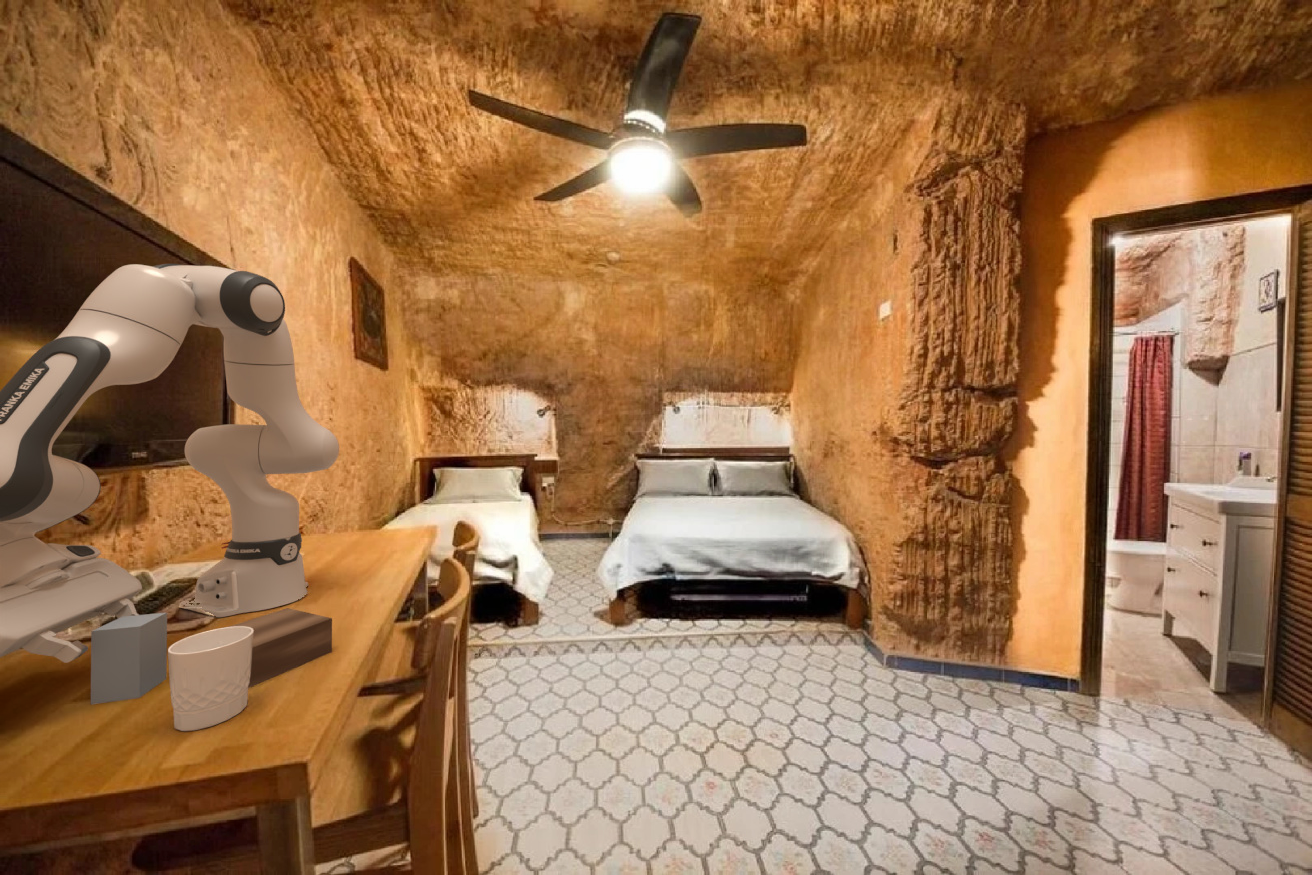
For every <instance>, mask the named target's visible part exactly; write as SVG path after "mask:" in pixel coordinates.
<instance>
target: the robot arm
mask: <svg viewBox="0 0 1312 875" xmlns="http://www.w3.org/2000/svg"><path fill="white" fill-rule="evenodd" d="M285 313H286V303H285V299H284V295H283V294H282V292H281V290H280V289H279V287H278V286H277V285H276V284H275V283H274V281H272V280H271V279H269V278H268V277H265V276H263V275H261V274H258V273H254V272H251V271H247V270H246V271H245V270H235V269H231V268H226V267H221V266H216V265H214V266H213V265H191V264H190V265H187V264H185V265H184V264H179V263H163V264H156V265H153V266H151V265H144V264H136V263H135V264H134V263H133V264H126V265H122V266H121V267H118V268H116V269H115V270H114V271H113V272H112V273H110V274H109V275H108V276H107V277H106V278H105V279H104V280H103V281H102V282H101V283H100V284H99V285H97V287H95V289H94V290H93V291H92V292H90V295H89V296H88V297H87V298H86V300H84V302H83V304H82V305H81V306H80V308H79V309H78V311H77V312H76V314H75V315H74V317H73V318H72V320H70V322H69V323H68V325H67V326H66V327H65V329H64V330H63V331H62V332H61V333H60V334H59V335H58V336H57V337H56V338H55V339H53V340H51V341H49V342H48V343H46V344H44V345H43V346H42V347H41V348H40V349H38V350H37V351H36V352H34V354H33V355H32V356H31V357H29V359H28V360H26V362H25V363H24V364H23V365H22V366H21V367H20V368H19V370H18V371H16V372H15V374H14V375H13V376H12V377H11V378H10V380H9V381H8V382H7V383H6V384H5V385H4V386H3V388H2V389H0V658H2V657H4V656H6V655H10V654H11V653H13V652H16V651H18V650H20V649H23V650H24V651H26V652H27V653H30V654H35V655H40V656H41V655H42V656H48V657H55V658H56V659H58V660H59V661H61V662H62V663H66V664H67V663H70V662H72V661H75V660H76V659H78V658H80V657H81V656H82V655H83V654H85V653H86V652H88V650H89V647H88V645H86V644H83V642H81V641H79V640H78V639H77V640H75V641H69V640H65V639H62V638H59V637H56V636H57V634H58V633H60V632H63V631H65V630H67V629H70V628H72V627H74V626H77V625H79V624H81V623H83V622H86V621H89V620H91V619H93V618H96V617H97V616H101V615H103V614H105V613H106V614H107V615H108V616H110V617H114V616H116V618H117V619H119V618H121V617H123V616H134V615H140V614H139V613H138V612H137V610H136V607H135V605H134V603H133V601H131V600H132V599H133V598H134V597H136V595H138V594H140V592H141V591H142V590H143V586H142V582H141V581H140V580H139V579H138V578H137V577H136V576H134V575H133V574H131V573H130V572H129V571H127V570H126V568H123V567H122V566H120V565H119V564H117V563H116V562H114V561H112V560H110V559H107V558H104V557H99V556H100V555H101V554H102V551H101V550H100V549H98V548H97V547H95V546H93V545H90V544H61V543H60V544H59V543H54V542H53V543H51V542H50V543H45V542H44V541H42V540H41V539H39V537H37V536H35V534H37V533H40V532H43V531H44V530H45V531H46V530H49V528H53V527H54V526H57V525H59V524H60V523H63V522H65V521H67V520H69V519H71V518H73V517H75V516H76V517H77V515H80V514H81V513H83V512H85V511H86V510H88V509H89V508H90V507H91V506H92V505H94V503H95V502H96V501H97V499H98V498H99V495H100V493H101V480H100V477H99V476H98V473H96V472H95V471H94V469H92V468H91V467H89V466H88V465H86V464H83V463H81V462H78V461H75V460H72V459H68V458H65V457H61V456H59V455H55V454H53V453H52V451H53V450H52V449H53V445H54V443H55V441H56V440H57V438H58V437H59V436H60V435H61V433H62V432H63V430H64V429H65V428H66V427H67V425H68V424H69V422H70V421H71V420H72V419H73V417H74V416H75V415H76V413H77V412H78V411H79V410H80V408H81V407H82V405H83V403H85V402H86V400H88V398H89V397H90V396H92V394H94V393H95V392H97V391H99V390H101V389H103V388H107V387H110V386H116V385H117V386H120V385H121V386H123V385H125V386H127V385H136V384H142V383H146V382H148V381H152V380H154V379H156V378H158V377H159V376H160V375H161V374H162V373H163V372H164V371H165V370H166V369H167V368H168V367H169V365H170V364H171V363H172V361H173V360H174V359H175V356H177V353H178V351H179V349H180V347H181V346H182V344H183V342H184V340H185V337H186V336H187V333H188V331H189V328H190V327H191V326H192V325H196V326H202V327H208V328H214V329H218V330H219V331H220V333H221V335H222V336H223V360H224V370H225V371H224V372H225V381H226V382H225V383H226V391H227V392H226V393H227V394H228V396H229V398H230V399H231V400H232V401H233V402H234V403H235V404H236V405H238V406H239V407H242V408H244V409H247V410H249V411H253V413H256V414H258V416H260V417H261V418H262V419H263V421H264V422H265V423H266V424H232V423H231V424H230V423H229V424H221V425H220V424H219V425H212V426H206V427H200V428H198V429H196V430H195V431H194V432H193V433H192V434H190V436H189V437H188V438H187V440H186V442H185V445H184V456H185V459H186V461H187V462H188V464H189V465H190V467H192V469H194V470H195V471H197V472H198V473H201V474H202V475H205V476H206V477H208V478H209V479H210V480H212V481H213V482H214V483H215V484H216V485H217V486H218V487H219V488H220V489H221V490H222V492H223V493H224V495H225V497H226V498H227V501H228V504H229V507H230V515H231V540H230V541H227V542H222V543H221V545H223V546H222V547H221V549H226V550H225V553H224V555H223V559H221V560H220V561H218V562H217V563H215V565H213V566H212V567H210V568H209V569H208V570H206V571H205V572H203V573H202V574H201V575H200V576H199V577H198V578H197V581H196V584H195V585H196V586H195V592H194V593H195V595H194V596H195V599H194V601H195V602H194V601H191V602H189V601H184V600H182V601H181V602H179V604H181V605H185V606H191V607H202V608H200V609H202V610H204V611H205V612H209V613H211V614H213V615H214V616H216V617H215V618H223V617H229V616H234V615H237V614H242V613H243V614H245V613H250V612H258V611H264V610H269V609H273V608H277V607H280V606H284V605H288V604H292V603H293V602H297V601H298V599H299V600H301V599H303V598H304V597H305V596H304V595H306V594H307V595H308V593H307V592H308V588H307V589H306V587H307V586H308V587H309V582H308V581H306V578H305V577H306V576H305V569H304V561H303V554H301V553H300V550H301V549H302V542H303V538H302V533H301V532H300V502H299V500H298V499H297V498H296V497H295V496H294V495H293V494H291V493H289V492H287V491H285V490H282V489H279V488H275V487H274V486H272V485H271V484H270V483H269V481H268V480H267V475H283V474H284V475H287V474H289V475H290V474H291V475H293V474H294V475H295V474H309V473H313V472H320V471H325V470H328V469H330V468H331V467H332V466H333V465H334V464H335V462H336V461H337V459H338V457H339V454H340V444H339V441H338V439H337V437H336V435H335V434H334V433H333V432H332V430H329V429H328V428H326V427H324V426H323V425H322V424H319V423H318V421H316V420H315V419H314V418H313V417H312V416H311V415H310V414H309V413H308V412H307V410H306V408H304V405H303V404H302V402H301V399H300V397H299V392H298V387H297V386H298V385H297V380H296V379H297V378H296V377H297V376H296V369H295V368H296V367H295V356H294V354H295V353H294V349H293V344H292V342H293V341H292V338H291V334H290V332H289V327H288V325H287V322H286V321H285V319H284V317H285ZM307 595H306V596H307ZM302 597H303V598H302ZM186 603H187V604H186ZM189 603H200V604H199V605H198V606H197V605H195V606H194V605H193V604H192V605H191V604H189ZM179 604H178V605H179ZM214 616H213V617H214Z"/></svg>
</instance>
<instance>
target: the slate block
mask: <svg viewBox="0 0 1312 875" xmlns="http://www.w3.org/2000/svg"><path fill="white" fill-rule="evenodd" d="M90 633H91V634H90V635H91V636H90V637H91V638H90V639H91V640H90V642H91V644H90V646H91V647H90V648H91V649H90V651H91V653H90V654H91V655H90V656H91V657H90V705H97V704H103V703H112V702H119V701H127V700H133V699H139V698H142V697H143V696H144V695H145V694H147V693H149V692H150V691H151V690H152V689H155V688H156V687H157V686H159V685H160V684H161V683H163V682H164V681H165V680H167V659H168V646H167V641H168V612H160V613H157V612H156V613H149V614H147V613H145V614H139V615H134V616H123V617H121V618H119V619H118V618H117V619H115V620H112V621H110V622H108V623H106V624H103V625H102V626H100V627H97V628H96V629H93V630H91V632H90Z"/></svg>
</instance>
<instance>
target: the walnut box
mask: <svg viewBox="0 0 1312 875" xmlns="http://www.w3.org/2000/svg"><path fill="white" fill-rule="evenodd" d="M233 626H247V627H251V628H253V630H254V633H253V647H252V663H251V674H250V683H249V685H248V689H250V688H252V687H255V686H257V685H259V684H261V683H264V682H266V681H269V680H271V679H273V678H275V677H279V676H280V675H282V674H285V673H287V672H290V671H291V670H294V669H296V668H298V667H300V666H303V665H305V664H307V663H310V662H312V661H314V660H317V659H319V658H321V657H323V656H326V655H329V654H330V653H332V652H333V618H332V617H328V616H325V615H319V614H316V613H310V612H306V611H302V610H297V609H294V608H290V607H286V608H283V609H281V610H277V611H274V612H270V613H268V614H264V615H261V616H257V617H254V618H251V619H248V620H246V621H242V622H239V623H236V624H233V625H230V626H228V627H233Z"/></svg>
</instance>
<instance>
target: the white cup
mask: <svg viewBox="0 0 1312 875" xmlns="http://www.w3.org/2000/svg"><path fill="white" fill-rule="evenodd" d="M253 633H254V630H253V628H251V627H247V626H233V627H229V626H226V627H220V628H214V629H210V630H207V631H202V632H199V633H195V634H193V635H189V636H186V637H184V638H182V639H179V640H178V641H176V642H174V643H173V644H171V645H170V646H168V647H167V659H168V676H169V677H168V678H169V688H170V699H171V706H172V708H173V709H172V711H173V726H174V729H175V730H178V731H180V732H189V731H190V732H191V731H199V730H201V729H206V728H210V727H214V726H215V725H218V724H221V723H224V722H226V721H228V720H230V719H233V717H235V716H237V715H238V714H240V713H241V712H242V711H243V710H244V709H245V708H246V707H247V706H248V696H249V688H248V685H249V683H250V674H251V663H252V647H253Z"/></svg>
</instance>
